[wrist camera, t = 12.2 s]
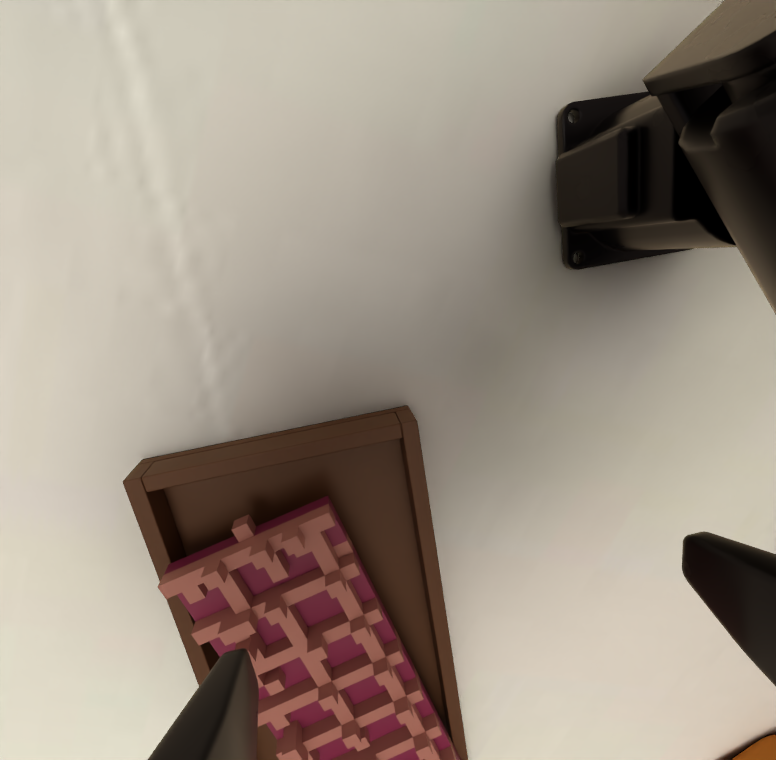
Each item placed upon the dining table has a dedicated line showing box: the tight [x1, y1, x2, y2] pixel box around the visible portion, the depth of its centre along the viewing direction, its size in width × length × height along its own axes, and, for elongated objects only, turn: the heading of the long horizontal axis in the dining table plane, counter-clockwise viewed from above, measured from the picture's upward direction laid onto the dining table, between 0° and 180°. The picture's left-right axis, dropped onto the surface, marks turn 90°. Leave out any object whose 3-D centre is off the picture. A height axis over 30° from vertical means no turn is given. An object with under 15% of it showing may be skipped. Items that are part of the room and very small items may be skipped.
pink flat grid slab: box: [158, 496, 461, 760], centre depth 20 cm, size 7×19×2 cm, turn 22°
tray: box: [123, 406, 468, 760], centre depth 22 cm, size 12×24×2 cm, turn 9°
